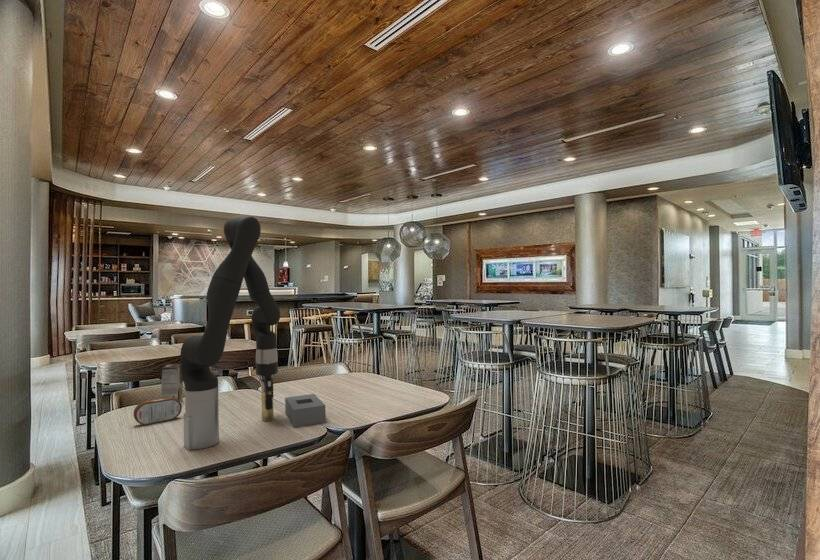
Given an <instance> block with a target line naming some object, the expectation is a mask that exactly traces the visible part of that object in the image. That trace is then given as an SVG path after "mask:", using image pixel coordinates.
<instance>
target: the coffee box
mask: <svg viewBox="0 0 820 560" xmlns="http://www.w3.org/2000/svg"><path fill="white" fill-rule="evenodd" d="M160 370H161V371H160V372H161V373H160V374H161V376H160V377H161V379H160V381H161V398H166V397H175V398H177V399H178V400H179V401H180V402H181V401H182V400H184V395H183V394H184V391H183V390H184V386H183V385H184V382H183V380H182V374H181V363H168V364H165V365H164V366H162V367H161V368H160ZM182 402H183V401H182ZM182 402H181V403H182Z"/></svg>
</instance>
